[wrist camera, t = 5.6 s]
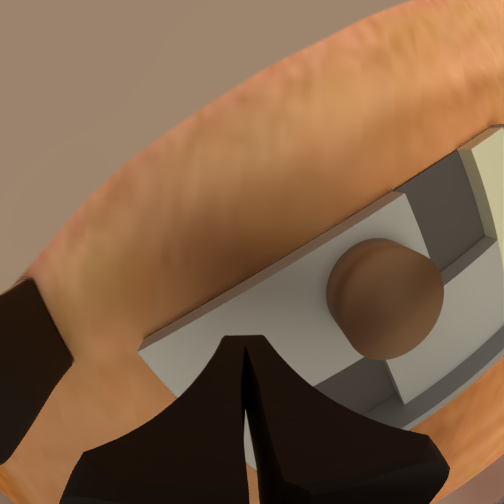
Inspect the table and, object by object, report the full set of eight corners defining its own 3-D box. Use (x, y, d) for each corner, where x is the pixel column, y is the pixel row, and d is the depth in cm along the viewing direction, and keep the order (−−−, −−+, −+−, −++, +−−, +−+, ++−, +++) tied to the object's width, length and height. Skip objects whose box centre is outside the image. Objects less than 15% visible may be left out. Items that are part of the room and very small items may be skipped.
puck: (425, 297, 16) (453, 317, 13) (351, 349, 17) (369, 378, 14) (393, 218, 15) (424, 227, 12) (307, 275, 15) (323, 297, 13)
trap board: (529, 286, 19) (554, 298, 16) (265, 465, 21) (268, 496, 18) (493, 124, 15) (525, 122, 12) (143, 338, 18) (128, 369, 14)
